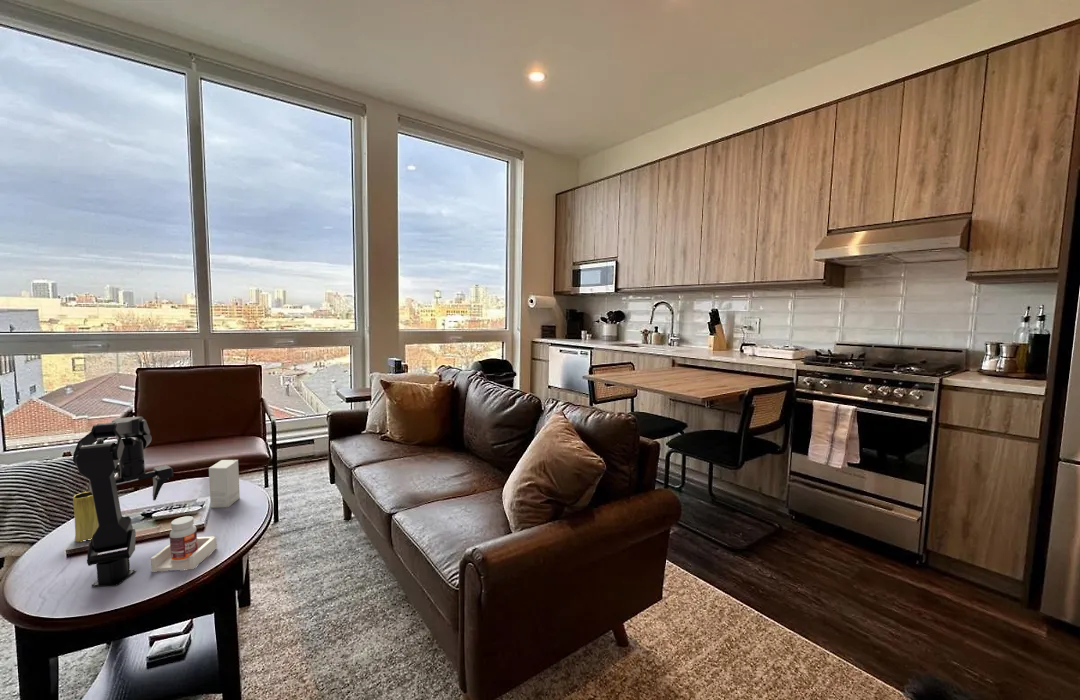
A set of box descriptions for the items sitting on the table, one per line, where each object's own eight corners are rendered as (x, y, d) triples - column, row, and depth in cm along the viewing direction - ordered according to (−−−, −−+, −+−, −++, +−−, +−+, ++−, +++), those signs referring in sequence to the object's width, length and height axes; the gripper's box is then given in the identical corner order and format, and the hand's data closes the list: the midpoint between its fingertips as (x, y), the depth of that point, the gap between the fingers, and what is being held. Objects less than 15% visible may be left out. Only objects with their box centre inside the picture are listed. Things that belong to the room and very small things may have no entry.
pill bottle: (189, 562, 127) (187, 524, 126) (166, 563, 127) (163, 525, 125) (202, 550, 134) (200, 514, 132) (180, 551, 133) (177, 515, 132)
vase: (73, 544, 137) (69, 500, 135) (76, 536, 141) (72, 493, 140) (101, 538, 141) (97, 495, 139) (102, 530, 145) (99, 489, 144)
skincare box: (223, 498, 170) (221, 459, 169) (241, 497, 171) (239, 459, 169) (209, 508, 162) (207, 467, 160) (228, 507, 163) (226, 467, 161)
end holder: (194, 569, 126) (193, 556, 125) (151, 572, 124) (150, 558, 124) (216, 548, 136) (216, 536, 136) (177, 550, 135) (177, 537, 135)
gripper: (162, 444, 149) (166, 488, 150) (84, 459, 134) (88, 508, 136) (172, 451, 142) (175, 498, 144) (90, 468, 127) (95, 519, 129)
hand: (135, 505), depth 138 cm, fingers open, 9 cm apart
